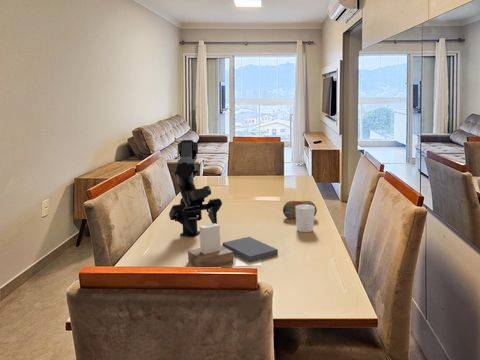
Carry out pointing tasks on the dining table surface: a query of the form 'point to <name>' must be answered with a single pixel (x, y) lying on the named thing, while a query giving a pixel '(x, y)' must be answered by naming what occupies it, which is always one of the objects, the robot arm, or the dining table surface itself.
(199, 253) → the walnut stand
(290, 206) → the tin
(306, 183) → the dining table surface
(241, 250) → the rubber mat
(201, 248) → the white rectangular block
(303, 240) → the dining table surface
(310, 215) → the white cup
